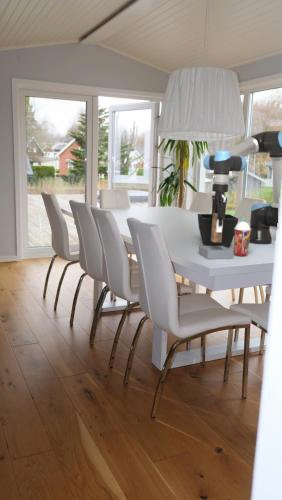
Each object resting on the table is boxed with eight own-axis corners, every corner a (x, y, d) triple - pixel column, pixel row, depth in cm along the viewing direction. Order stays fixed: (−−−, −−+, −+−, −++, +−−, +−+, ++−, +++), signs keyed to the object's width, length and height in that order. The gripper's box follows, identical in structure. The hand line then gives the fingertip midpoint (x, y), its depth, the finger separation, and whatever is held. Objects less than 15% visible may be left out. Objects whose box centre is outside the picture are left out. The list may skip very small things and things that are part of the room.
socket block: (222, 253, 230) (222, 245, 229) (232, 259, 217) (233, 251, 217) (198, 253, 227) (198, 245, 226) (207, 259, 215) (208, 251, 214)
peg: (218, 240, 223) (220, 213, 220) (221, 242, 219) (223, 214, 217) (210, 240, 222) (212, 212, 220) (213, 242, 218) (215, 213, 216)
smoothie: (251, 257, 223) (254, 217, 219) (234, 256, 222) (238, 217, 219) (246, 253, 231) (249, 215, 227) (230, 253, 231) (233, 215, 227)
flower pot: (202, 248, 241) (204, 217, 238) (195, 242, 259) (197, 213, 256) (236, 249, 243) (239, 218, 239) (227, 242, 261) (229, 214, 258)
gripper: (206, 182, 223) (203, 228, 227) (220, 184, 206) (216, 234, 211) (221, 182, 224) (217, 228, 229) (235, 184, 208) (231, 234, 212)
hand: (217, 231), depth 220 cm, fingers closed on peg, 4 cm apart
